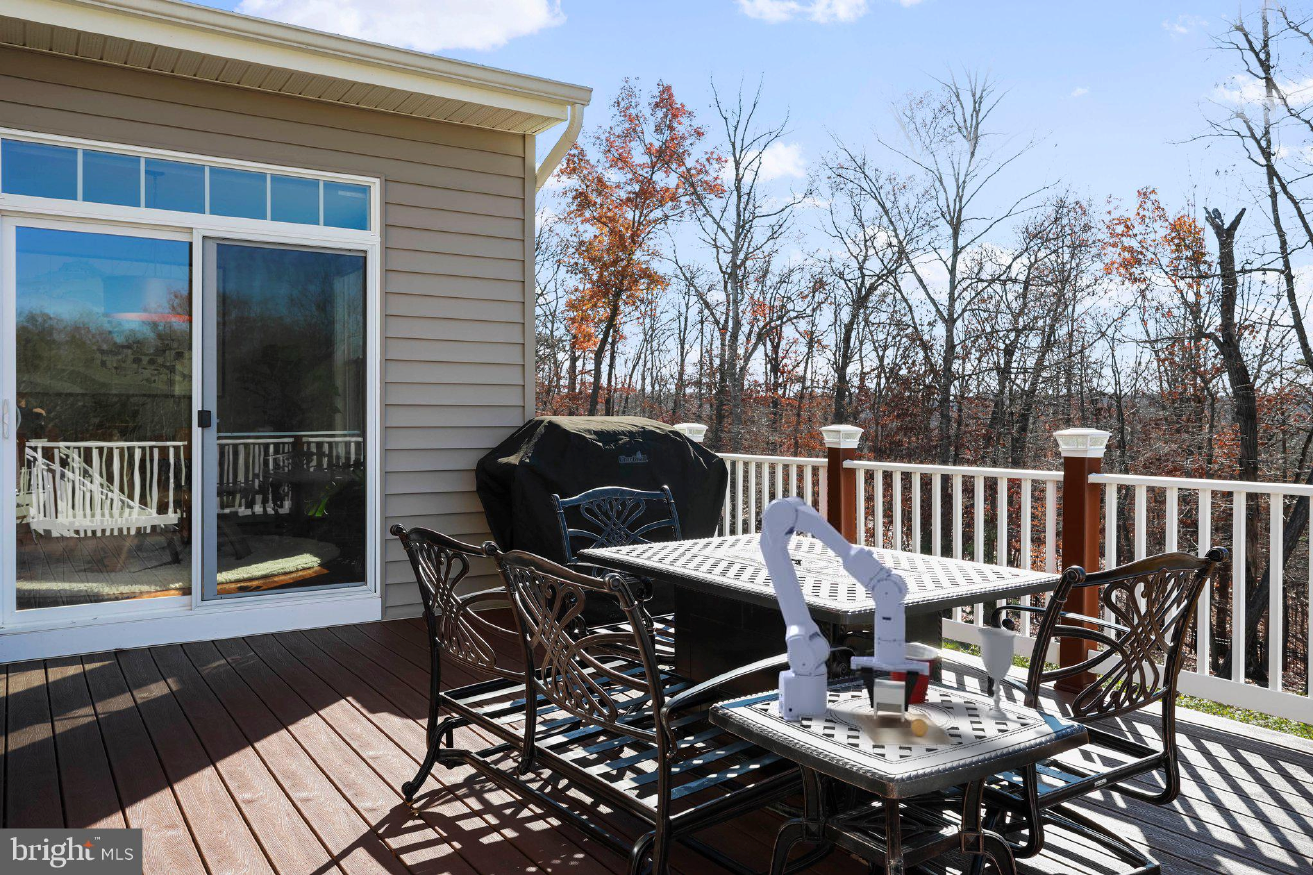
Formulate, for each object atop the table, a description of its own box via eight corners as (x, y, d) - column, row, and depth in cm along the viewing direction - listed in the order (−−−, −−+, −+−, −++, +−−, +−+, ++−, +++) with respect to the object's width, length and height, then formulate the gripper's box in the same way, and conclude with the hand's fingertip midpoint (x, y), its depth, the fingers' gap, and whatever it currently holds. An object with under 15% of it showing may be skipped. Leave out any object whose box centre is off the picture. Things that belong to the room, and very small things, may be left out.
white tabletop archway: (873, 718, 162) (873, 687, 162) (875, 709, 168) (875, 679, 168) (904, 721, 161) (904, 689, 161) (905, 712, 166) (905, 681, 166)
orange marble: (914, 738, 155) (914, 721, 155) (908, 732, 158) (908, 716, 158) (930, 738, 155) (930, 721, 155) (924, 732, 158) (924, 716, 158)
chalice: (969, 719, 169) (969, 629, 169) (995, 715, 172) (995, 626, 172) (998, 731, 162) (998, 637, 162) (1024, 726, 165) (1024, 634, 165)
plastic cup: (930, 717, 171) (931, 657, 171) (877, 707, 177) (878, 649, 177) (943, 702, 180) (944, 646, 180) (892, 694, 186) (893, 639, 186)
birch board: (875, 751, 151) (875, 743, 151) (849, 720, 168) (849, 713, 168) (958, 750, 152) (958, 743, 152) (924, 719, 169) (924, 713, 169)
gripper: (849, 639, 163) (849, 710, 163) (929, 645, 158) (928, 718, 158) (852, 631, 169) (852, 700, 169) (929, 637, 165) (928, 707, 165)
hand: (889, 708), depth 164 cm, fingers closed on white tabletop archway, 6 cm apart
